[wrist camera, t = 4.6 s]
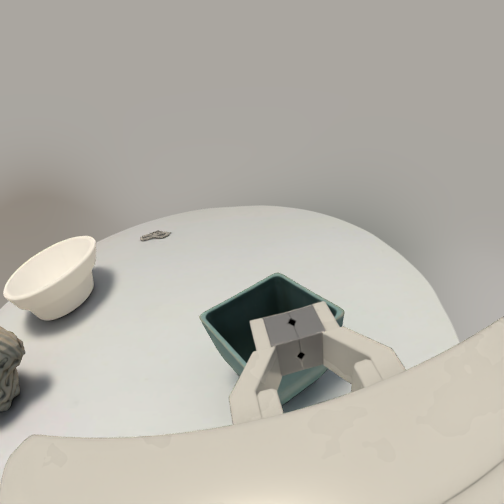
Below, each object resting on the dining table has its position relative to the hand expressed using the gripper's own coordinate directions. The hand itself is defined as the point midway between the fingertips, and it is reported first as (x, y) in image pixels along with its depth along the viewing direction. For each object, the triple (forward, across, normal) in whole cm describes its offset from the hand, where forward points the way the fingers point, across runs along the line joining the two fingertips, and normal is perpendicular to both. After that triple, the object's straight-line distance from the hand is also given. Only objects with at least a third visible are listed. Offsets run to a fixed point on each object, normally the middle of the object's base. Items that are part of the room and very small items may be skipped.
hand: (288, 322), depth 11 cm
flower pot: (+9, 0, +17) cm, 19 cm away
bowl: (+35, +35, +17) cm, 52 cm away
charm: (+54, +18, +17) cm, 59 cm away
